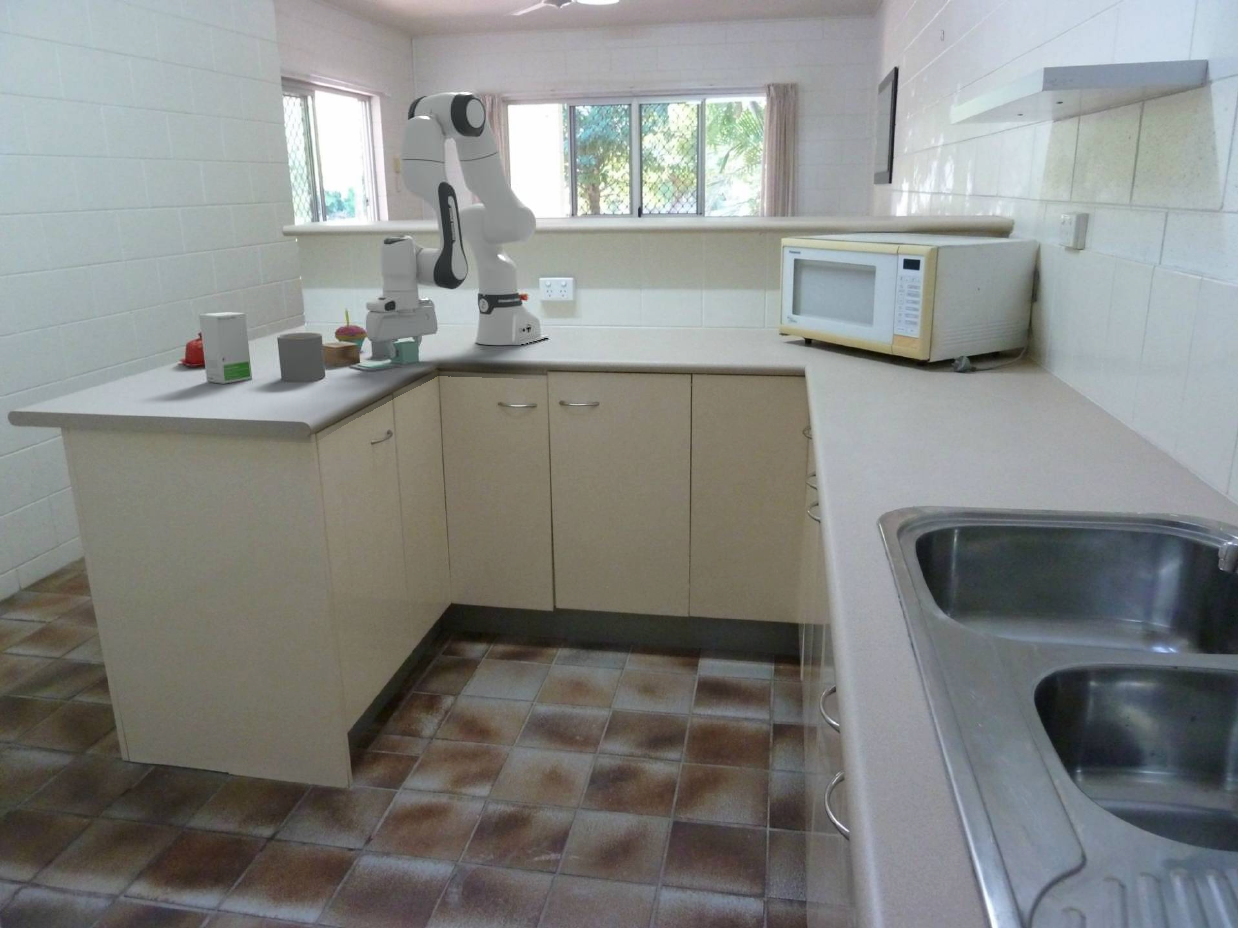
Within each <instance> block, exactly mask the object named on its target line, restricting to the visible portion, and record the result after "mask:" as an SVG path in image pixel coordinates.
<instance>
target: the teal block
mask: <svg viewBox="0 0 1238 928" xmlns="http://www.w3.org/2000/svg"><path fill="white" fill-rule="evenodd" d="M393 346H394V347H395V349H396V350H399V353H398V354H399V356H398V357H390V363H394V364H395V363H396V364H400V365H401V364H402V365H405V364H411V363H417V362H419V361H420V357H419V356H420V355H419V354H420V351H419V352H418V342H414V340H406V339H405V340H398V341H397V342H395V344H393Z"/></svg>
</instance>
